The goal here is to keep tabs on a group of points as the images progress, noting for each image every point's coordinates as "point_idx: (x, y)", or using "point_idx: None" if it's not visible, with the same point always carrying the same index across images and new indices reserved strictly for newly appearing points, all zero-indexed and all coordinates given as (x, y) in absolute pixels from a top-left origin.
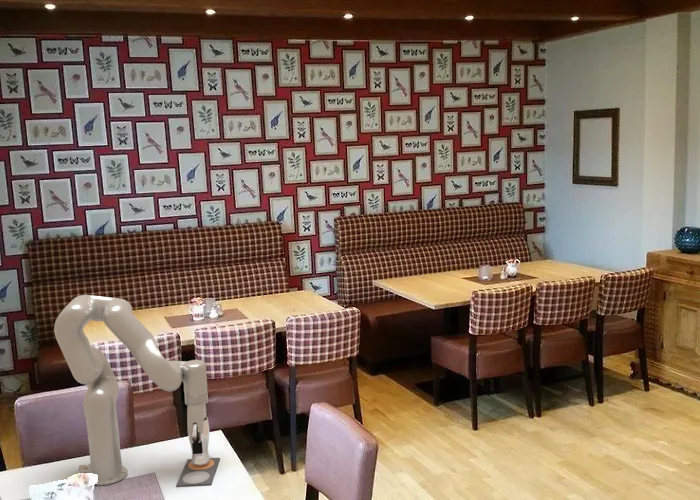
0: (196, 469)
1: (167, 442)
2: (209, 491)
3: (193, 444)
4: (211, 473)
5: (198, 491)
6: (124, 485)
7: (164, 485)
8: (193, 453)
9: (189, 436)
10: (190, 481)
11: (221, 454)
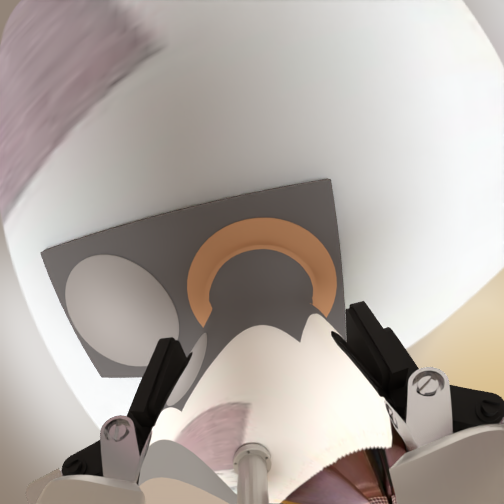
0: (190, 291)
1: (480, 35)
2: (73, 372)
3: (141, 404)
4: None
5: (57, 342)
6: (43, 26)
7: (43, 188)
8: (161, 342)
9: (155, 430)
10: (78, 304)
11: (393, 326)
